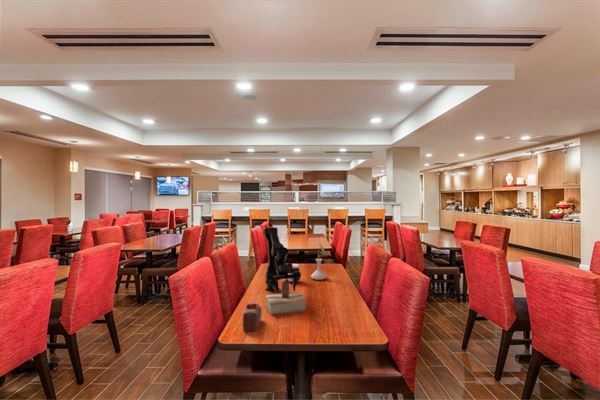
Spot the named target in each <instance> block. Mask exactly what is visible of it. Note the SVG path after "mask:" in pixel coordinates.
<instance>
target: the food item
mask: <svg viewBox="0 0 600 400" xmlns="http://www.w3.org/2000/svg"><path fill="white" fill-rule="evenodd" d="M262 313H263V312H262V307H261V306H260V304H258V303H255V302H251V303H246V306H245V308H244V311H243V314H242V329H243V332H257V331H258V327H259V326H260V323H261V322H260V321H261V318H262Z"/></svg>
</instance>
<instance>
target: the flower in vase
mask: <svg viewBox="0 0 600 400" xmlns="http://www.w3.org/2000/svg"><path fill="white" fill-rule="evenodd" d="M318 247H319V250H318V251H317V258H315V259H314V260H315V261H316V267H317V268H316V270H315V271H314V272H312V273H311V275H310V278H312V279H314V280H318V281H319V280H321V281H322V280H326V279H327V278H328V276H327V274H326V273H325V272H324V271H323V270H322V268H321V264H322V261H323V258H320V257H321V256H322V255H321V254H320V250H321V251H322V252H323V253H325V252H326V251H325V248H324V246H323V245H322V243H320V242H319V243H318Z"/></svg>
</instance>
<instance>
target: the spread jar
mask: <svg viewBox="0 0 600 400" xmlns="http://www.w3.org/2000/svg"><path fill="white" fill-rule="evenodd" d="M292 266H293V268H292V269H290V270H289V273H288V275H292V274H293V272H298V271H299V272H300V271H301V269H300V264H299V263H298V264H297V263H292ZM300 273H301V272H300ZM300 280H301V279H300ZM300 280H299V281H298V282H296V284H299V283H300ZM283 281H284V282H287V281H288V282H289V284H292V281H293V280H292V278H290V279H283Z"/></svg>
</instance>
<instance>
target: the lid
mask: <svg viewBox="0 0 600 400" xmlns="http://www.w3.org/2000/svg"><path fill="white" fill-rule="evenodd" d="M265 299H267V300H268V302H269V304H270V305H278V304H287V303H296V302H305V303H306V302H307V298H306V297H305V296H304V295H303V294H302V293H301V292H300V291H293V292H292V291H291V292H290V283H289V281H282V282H281V293H273V294H271V293H270V294H265Z"/></svg>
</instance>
